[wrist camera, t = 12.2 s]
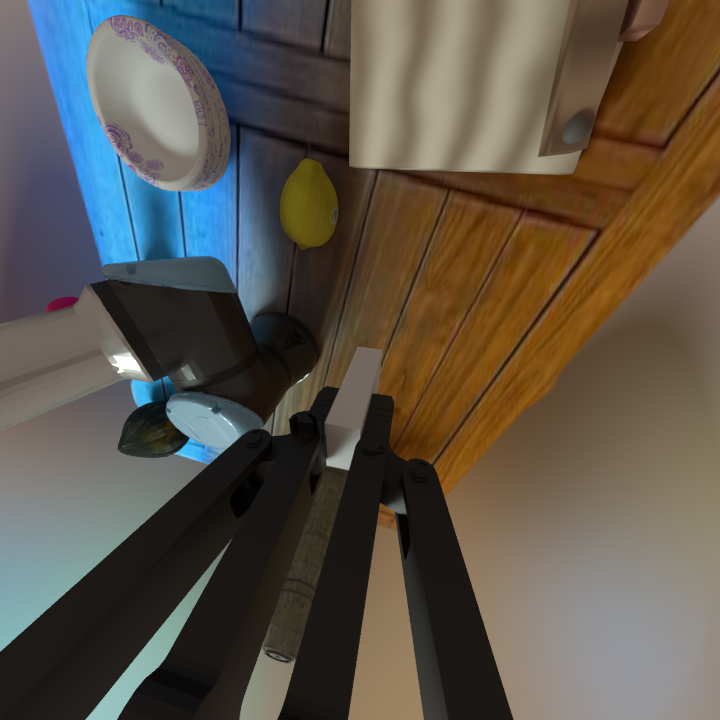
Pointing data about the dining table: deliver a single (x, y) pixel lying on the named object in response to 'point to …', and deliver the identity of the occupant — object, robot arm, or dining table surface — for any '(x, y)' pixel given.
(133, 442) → the squash
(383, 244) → the dining table surface
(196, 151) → the paper bowls
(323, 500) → the thermos
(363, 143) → the stool seat
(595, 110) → the walnut leg
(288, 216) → the lemon
